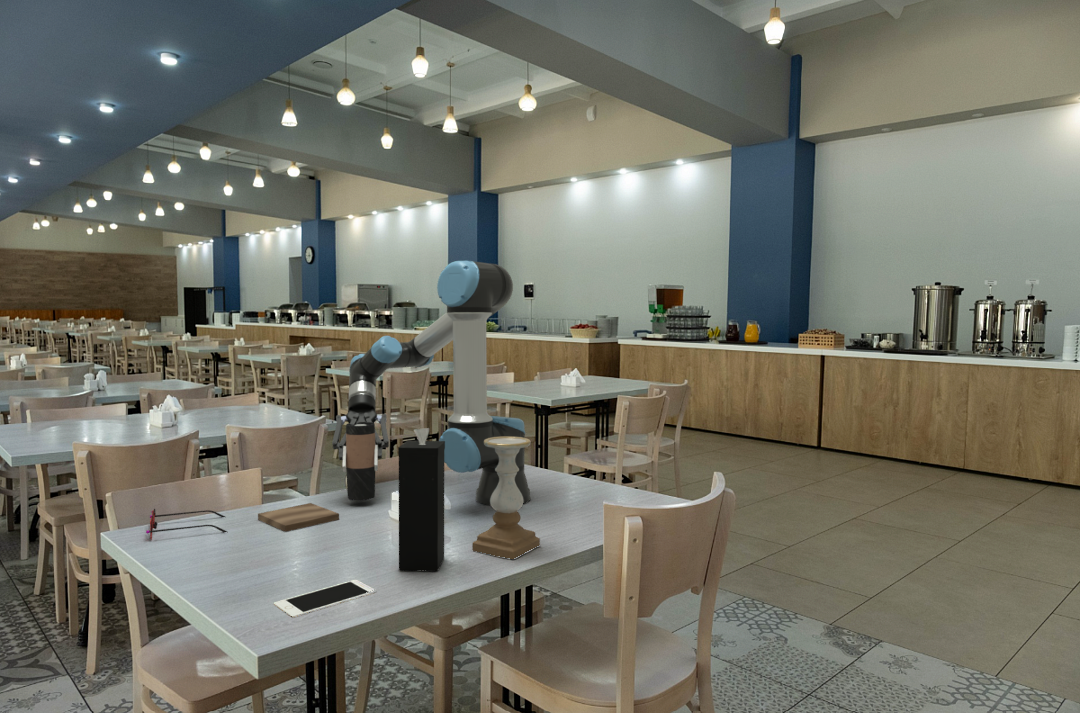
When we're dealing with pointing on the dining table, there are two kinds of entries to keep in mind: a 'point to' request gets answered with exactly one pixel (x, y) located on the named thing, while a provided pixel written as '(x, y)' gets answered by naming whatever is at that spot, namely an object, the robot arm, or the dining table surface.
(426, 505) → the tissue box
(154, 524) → the glasses
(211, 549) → the dining table surface
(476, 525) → the dining table surface
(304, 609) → the cell phone
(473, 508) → the dining table surface
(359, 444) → the travel mug
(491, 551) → the candle holder
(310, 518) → the walnut board
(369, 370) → the robot arm
